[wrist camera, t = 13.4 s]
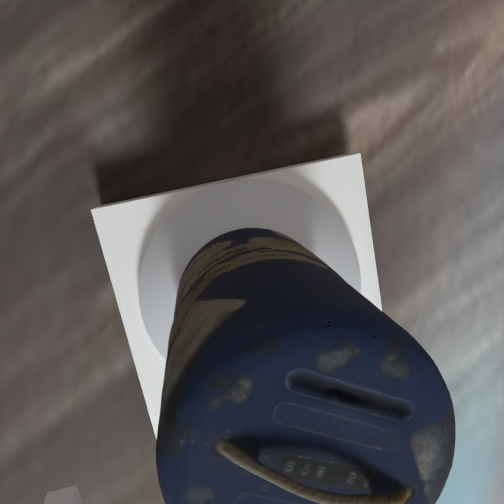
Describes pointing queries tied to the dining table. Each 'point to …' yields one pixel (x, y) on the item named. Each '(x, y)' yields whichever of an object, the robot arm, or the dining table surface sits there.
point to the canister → (294, 387)
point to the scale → (222, 221)
